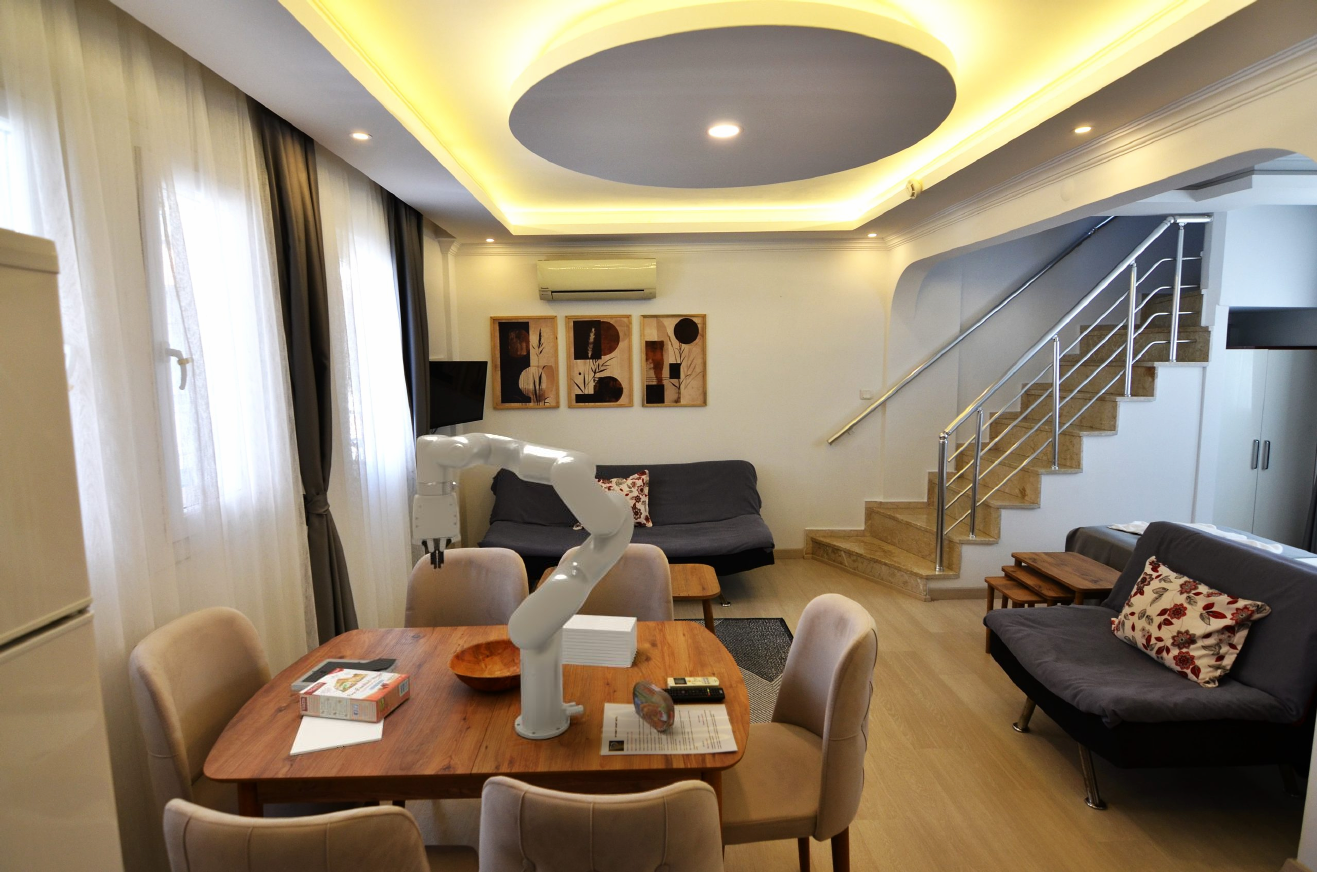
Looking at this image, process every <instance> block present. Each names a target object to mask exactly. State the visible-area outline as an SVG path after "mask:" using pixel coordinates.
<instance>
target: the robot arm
mask: <svg viewBox="0 0 1317 872" xmlns="http://www.w3.org/2000/svg"><path fill="white" fill-rule="evenodd" d="M415 448H416V451H415V453H416V454H415V455H416V479H417V480H416V481H417V482H416V483H417V494H415V495H414V497H413V502H412V534H413V535H412V538H411V544H412V545H415V546H417V545H418V546H422V547H424V548H425V549H426V550H427V551H428V552H429V554H430V555H429V557H430V566H432V565H433V570H437V569H439V570H441V569H442V565H445V553H444V552H445V550H446V549H447V548H448V547H449V546H450V545H451V544H453V543H456V542H458V541H459V542H460V541H461V539H462V536H461V534H460V513H459V505H458V504H459V503H458V500H457V494H456V492H453V491H454V490H456V489H459V488H460V487H459V486H460V485H459V482H455V481H453V480H452V479H453V469H457V470H466V469H469V468H472V467H475V466H478V465H485V466H490V467H496V468H502V469H505V470H508V471H511V472H513V473H515V474H514V475H516V476H517V477H518V478H519V479H520V480H523V481H527V482H533V483H539V484H544V485H550V486H553V489H554V490H555V492H556V493H557V494H558V496H559V498H560V499H561V500H562V501H563V503H564V505H566V506H567V508H568V509H569V510H570V512H571V513H572V515H574V517H575V518H576V519H577V521H578V522H579V523H580V525H581V526H582V527H583V528H584V529H585V530H586V531H587V532H588V533H590V535H589V536H588V537H587V538H586V540H585V541H584V542H583V543H582V544H581V545H580V546H579V547H578V548H577V549H576V550H575V551H574V552H573V553H572V554H571V555H570V556H569V557H568V558H567V559H566V560H565V561H564V562H563V563H562V564H559V566H557V567H556V568H555V569H554V570H553V571H552V573H550V575H548V577H547V578H546V580H545V581H543V583H541V585H540V586H538V588H537V589H536V590H535V591H534V592H532V593H530V594H529V595H527V597H526V598H525V599H523V600H522V602H521V603H520V605H519V606H518V607H517V608H516V610H514V611H513V613H512V614H511V616H510V618H509V620H508V624H507V633H508V637H509V639H510V641H511V643H512V644H513V645H514V646H515V647H516V648H519V650H520V651H519V652H520V654H519V655H520V656H519V657H520V660H521V661H520V663H519V664H520V694H521V695H520V702H521V703H520V705H521V706H520V709H521V710H520V711H521V714H520V715H519V716H518V717H517V718H516V719H515V721H514V731H515V732H516V734H518V735H519V736H521V737H523V738H525V739H530V740H545V739H550V738H553V737H556V736H559V735H561V734H562V733H565V731H566V730H567V729H568V728H569V726H570V725H571V724H570V722H571V721H570V720H571V719H570V717H571V716H573V715H575V716H576V715H582V714H584V706H583V704H580V705H576V702H575V701H573V702H572V701H571V702H569V703H566V702H564V700H563V698H564V697H563V696H564V693H563V664H562V636H563V626H564V625H565V624H566V623H567V622H568V621H569V620H570V619H571V618H572V617H573V616H574V615H577V614H576V613H578V612H579V610H580V609H581V608H582V607H583V605H584V603H585V602H586V600H587V598H588V597H589V595H590V593H591V591H592V590H593V588H594V587H595V586H596V585H597V584H598V583H599V582H600V581H601V579H603V578H604V577H605V575H607V573H608V572H609V571H610V570H611V569H612V568H613V566H614V565H616V563H618V561H619V560H620V558H622V556H623V555H624V553H625V552H626V551H627V548H628V547H629V544H630V543H631V540H632V537H633V533H634V529H635V527H634V526H635V518H634V513H633V509H632V508H633V507H632V505H631V503H630V501H629V499H628V498H627V496H626V495H624V493H622V492H620V491H617V490H605V489H604V488H603V487H602V485H601V484H600V483H599V481H598V480H597V479H596V478H595V477H596V473H597V465H596V461H595V460H594V459H593V458H592V456H591V455H589V454H587V453H586V452H582V451H579V450H573V449H566V448H563V447H562V448H560V447H555V446H549V445H543V444H539V443H533V442H528V441H524V440H519V439H515V438H512V437H508V436H503V435H502V436H501V435H495V434H489V433H483V432H472V433H471V432H470V433H466V434H461V435H456V436H455V435H454V436H448V435H444V434H426V435H421V436H418V438H417V439H416V444H415ZM437 539H439V540H440V541H439V546H438V547H436V546H435V543H434V540H437ZM436 548H437V549H436Z"/></svg>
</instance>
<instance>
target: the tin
mask: <svg viewBox="0 0 1317 872" xmlns="http://www.w3.org/2000/svg"><path fill="white" fill-rule="evenodd" d="M673 701H674V700H673V699H672V697H671V695H669V693H668V692H666V691H664V690H663V689H662V688H661V687H659V686H657V685H656V684H655V683H653V682H651V681H649V680H643V681H637V682H635V684H634V686H633V688H632V702H633V707H634V710H635V712H636V713H637V715H638V716H639V717H640V719H642V720H644V721H645V722H646V723H647V724H648V725H650V726H651V728H653V729H654V730H656V731H658V732H664V731H665V730H668V729H671V728H672V727H673V726H674V724H675V718H676V717H675V716H676V715H675V713H676V711H675V709H676V708H675V705H674V702H673Z"/></svg>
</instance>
